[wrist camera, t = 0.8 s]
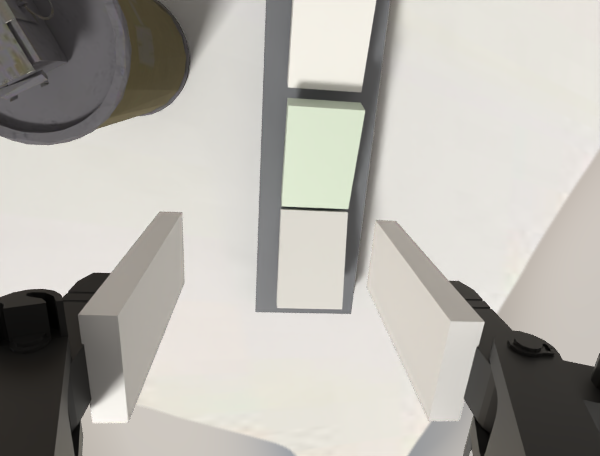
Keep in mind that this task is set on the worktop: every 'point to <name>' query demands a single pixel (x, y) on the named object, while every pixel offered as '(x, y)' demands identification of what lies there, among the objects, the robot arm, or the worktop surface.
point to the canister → (85, 65)
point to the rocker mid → (320, 152)
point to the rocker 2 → (311, 258)
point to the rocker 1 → (329, 44)
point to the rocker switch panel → (275, 140)
